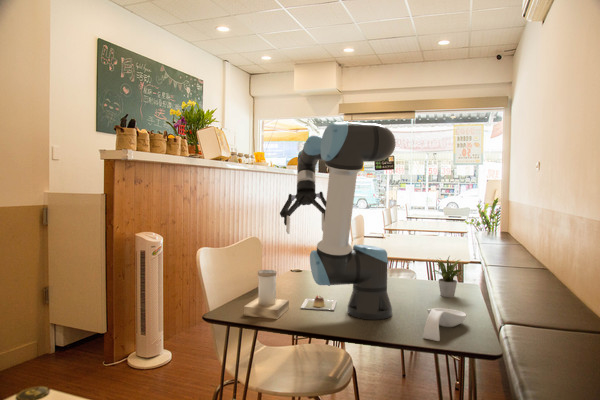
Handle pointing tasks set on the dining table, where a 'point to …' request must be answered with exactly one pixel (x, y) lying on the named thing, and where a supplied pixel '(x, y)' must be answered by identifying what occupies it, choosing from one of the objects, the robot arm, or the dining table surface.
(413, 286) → the dining table surface
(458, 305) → the dining table surface
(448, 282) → the house plant
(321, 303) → the dessert
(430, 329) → the spoon rest
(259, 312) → the base
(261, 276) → the canister
